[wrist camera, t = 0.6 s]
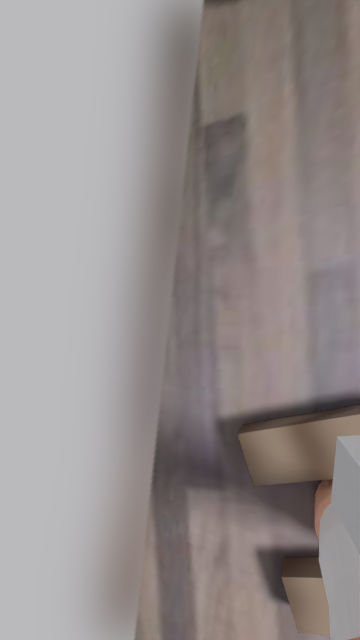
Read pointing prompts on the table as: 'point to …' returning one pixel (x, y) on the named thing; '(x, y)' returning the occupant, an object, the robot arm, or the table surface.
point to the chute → (291, 467)
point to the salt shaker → (338, 567)
